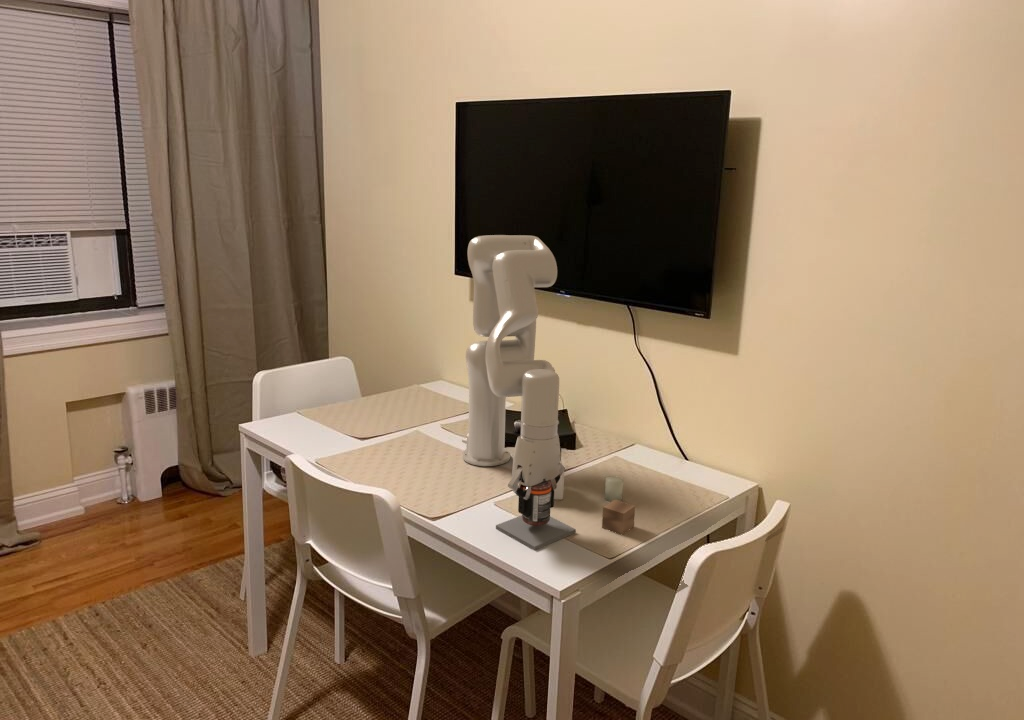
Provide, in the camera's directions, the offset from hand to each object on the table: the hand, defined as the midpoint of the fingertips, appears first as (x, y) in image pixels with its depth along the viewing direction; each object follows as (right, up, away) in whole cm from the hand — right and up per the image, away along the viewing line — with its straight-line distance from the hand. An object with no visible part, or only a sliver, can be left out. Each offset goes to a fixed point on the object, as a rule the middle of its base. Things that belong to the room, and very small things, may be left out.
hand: (536, 509), depth 159 cm
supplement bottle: (0, -3, +1) cm, 3 cm away
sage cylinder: (+19, -1, +17) cm, 25 cm away
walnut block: (+18, -5, +4) cm, 19 cm away
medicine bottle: (+3, 0, +19) cm, 20 cm away
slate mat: (0, -5, +1) cm, 5 cm away
